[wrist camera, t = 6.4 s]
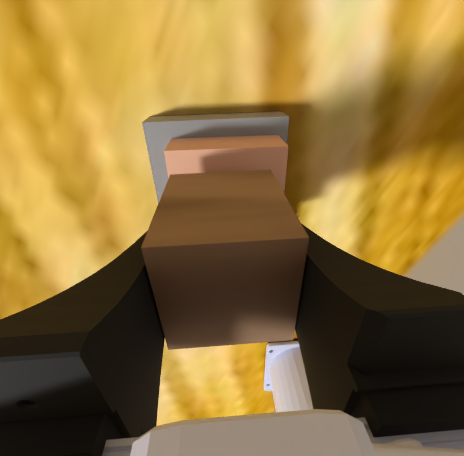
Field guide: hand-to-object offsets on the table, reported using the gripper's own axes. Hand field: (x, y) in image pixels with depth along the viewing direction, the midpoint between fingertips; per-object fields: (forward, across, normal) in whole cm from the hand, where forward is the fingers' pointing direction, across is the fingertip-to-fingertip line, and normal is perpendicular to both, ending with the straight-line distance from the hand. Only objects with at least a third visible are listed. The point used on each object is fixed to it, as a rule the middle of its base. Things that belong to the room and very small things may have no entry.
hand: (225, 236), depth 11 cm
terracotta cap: (+6, 0, 0) cm, 6 cm away
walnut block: (+2, 0, 0) cm, 2 cm away
